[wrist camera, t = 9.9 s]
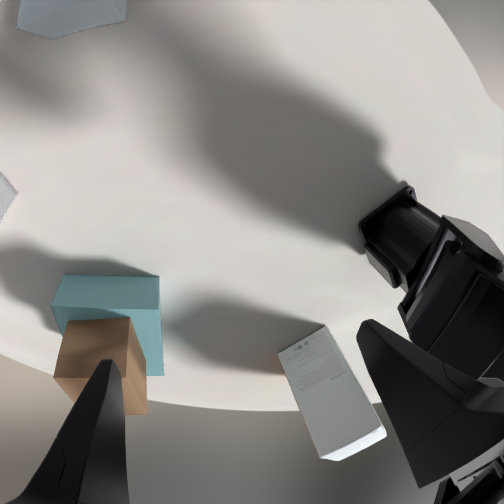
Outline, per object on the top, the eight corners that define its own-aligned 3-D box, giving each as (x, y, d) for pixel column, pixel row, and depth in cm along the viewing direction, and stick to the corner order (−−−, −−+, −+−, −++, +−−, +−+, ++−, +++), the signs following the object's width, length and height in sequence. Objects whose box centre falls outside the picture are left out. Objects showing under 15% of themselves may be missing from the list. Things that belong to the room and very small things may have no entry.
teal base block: (159, 274, 21) (158, 309, 18) (162, 341, 25) (164, 375, 22) (65, 271, 19) (50, 305, 15) (84, 339, 23) (78, 372, 19)
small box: (275, 352, 29) (318, 459, 19) (326, 323, 29) (384, 425, 18) (300, 377, 34) (337, 462, 23) (342, 353, 34) (388, 435, 23)
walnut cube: (130, 316, 18) (125, 377, 13) (146, 360, 20) (147, 414, 16) (67, 320, 16) (53, 377, 12) (90, 362, 19) (84, 414, 15)
